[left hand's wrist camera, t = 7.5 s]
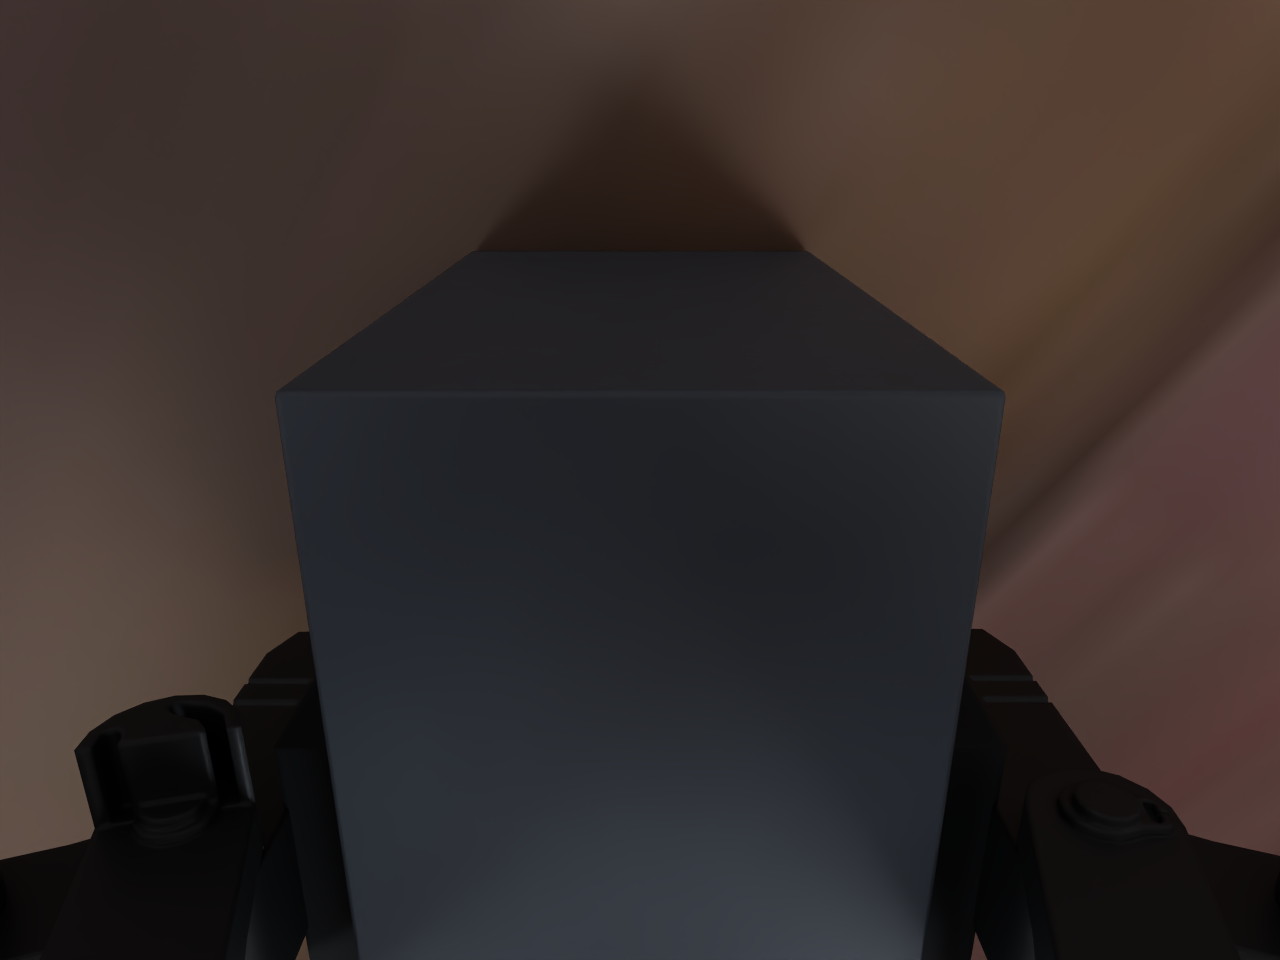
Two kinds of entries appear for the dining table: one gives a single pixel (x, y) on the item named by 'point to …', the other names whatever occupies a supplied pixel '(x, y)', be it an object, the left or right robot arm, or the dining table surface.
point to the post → (640, 607)
